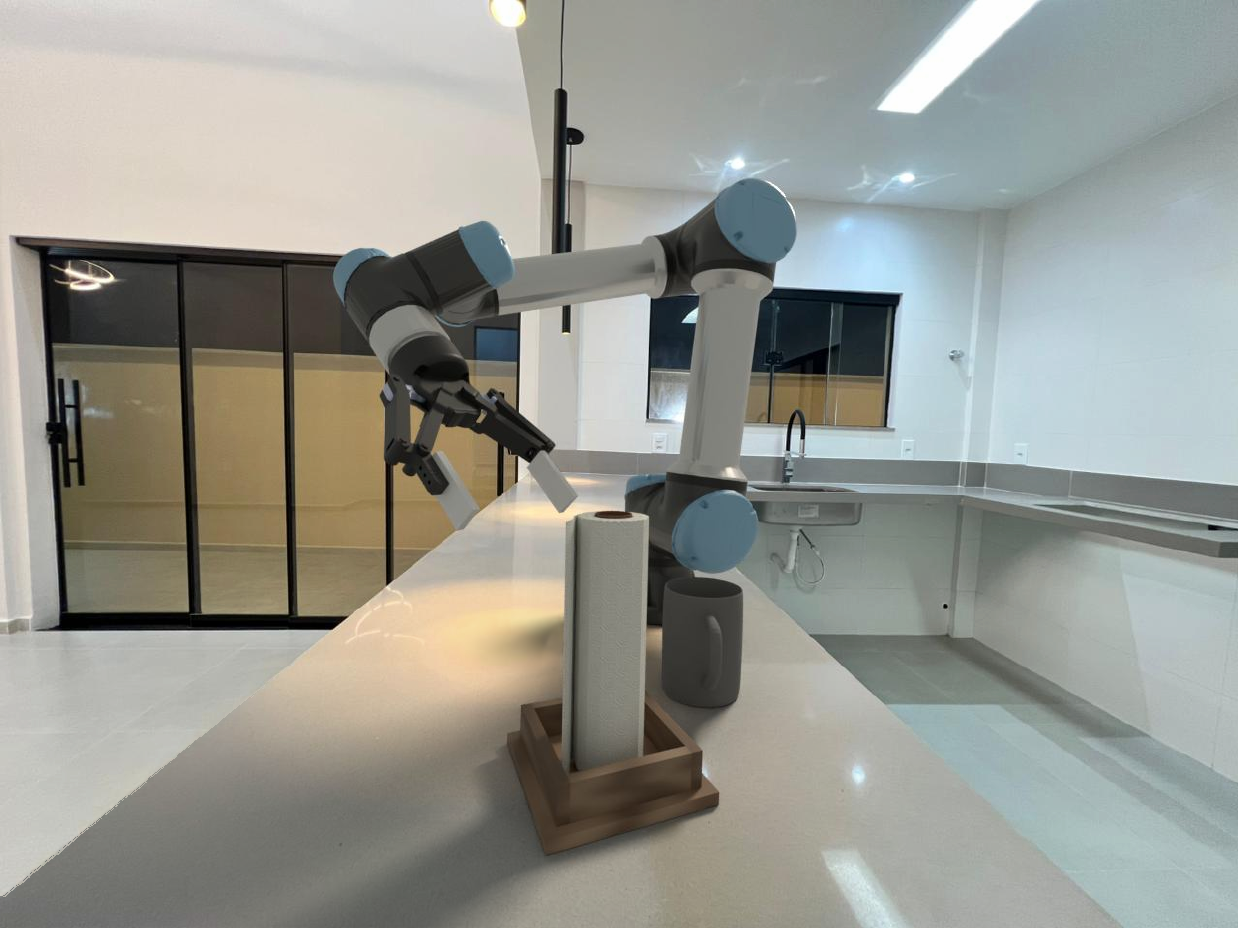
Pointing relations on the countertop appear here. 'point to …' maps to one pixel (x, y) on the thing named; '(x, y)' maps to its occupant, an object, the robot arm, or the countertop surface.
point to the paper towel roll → (604, 638)
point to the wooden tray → (606, 779)
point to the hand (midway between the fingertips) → (524, 511)
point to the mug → (702, 641)
